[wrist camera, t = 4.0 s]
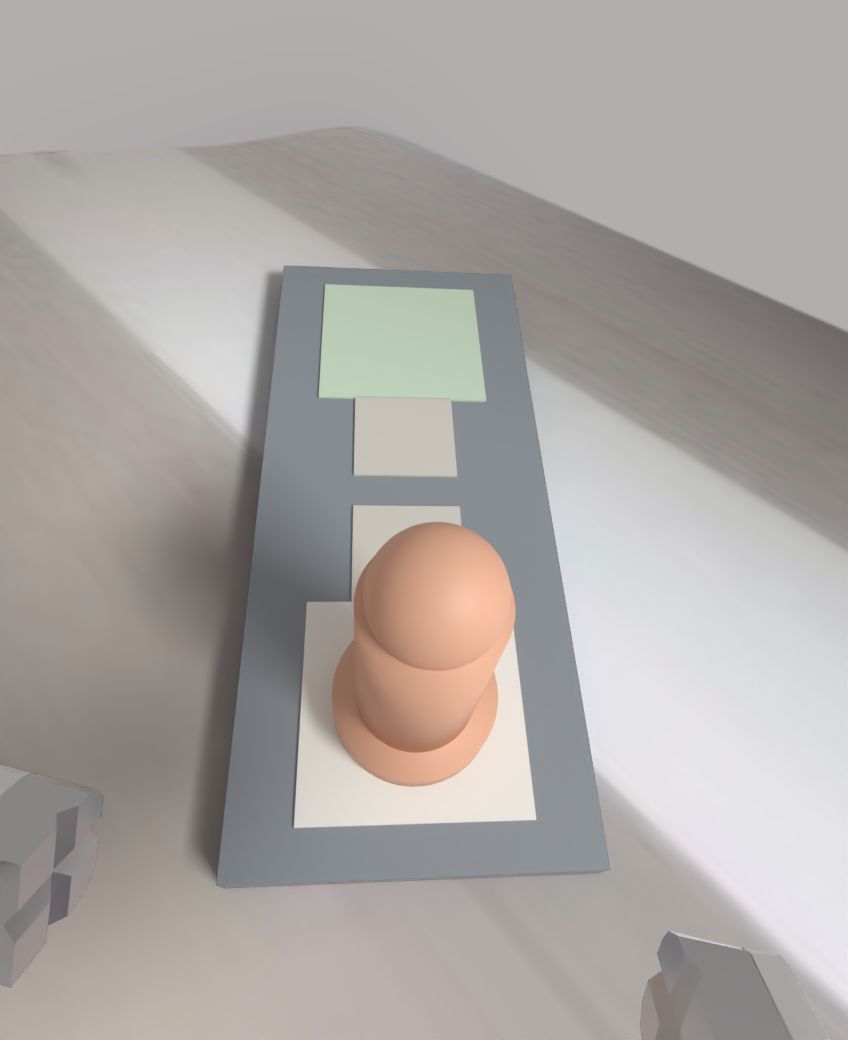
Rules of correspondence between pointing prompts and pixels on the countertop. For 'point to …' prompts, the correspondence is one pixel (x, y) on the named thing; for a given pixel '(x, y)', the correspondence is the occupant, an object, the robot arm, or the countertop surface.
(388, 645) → the pawn
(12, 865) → the robot arm
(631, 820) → the countertop surface
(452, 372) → the board
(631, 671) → the countertop surface
